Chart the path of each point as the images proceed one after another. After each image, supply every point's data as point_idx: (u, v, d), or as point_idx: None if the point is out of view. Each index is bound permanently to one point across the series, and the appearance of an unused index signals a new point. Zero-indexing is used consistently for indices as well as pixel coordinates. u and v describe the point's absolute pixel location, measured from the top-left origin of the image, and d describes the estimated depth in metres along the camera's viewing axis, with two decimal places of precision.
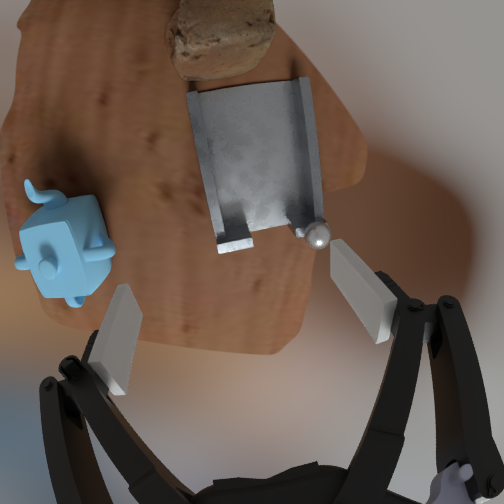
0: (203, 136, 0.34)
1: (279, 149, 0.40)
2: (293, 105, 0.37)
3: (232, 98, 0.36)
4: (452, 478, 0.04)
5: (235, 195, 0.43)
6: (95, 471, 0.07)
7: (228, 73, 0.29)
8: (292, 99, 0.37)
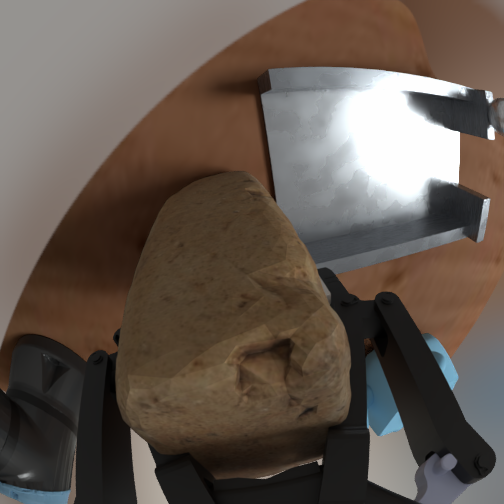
0: (364, 255, 0.23)
1: (378, 125, 0.22)
2: (309, 93, 0.20)
3: (295, 196, 0.24)
4: (435, 470, 0.05)
5: (422, 196, 0.26)
6: (127, 454, 0.08)
7: None
8: (297, 93, 0.20)
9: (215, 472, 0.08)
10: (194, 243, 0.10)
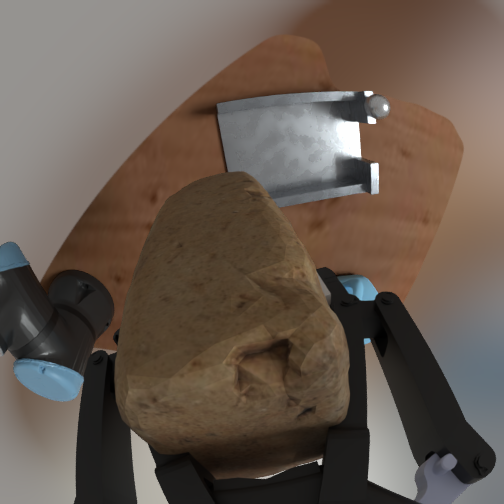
0: (279, 199, 0.41)
1: (288, 124, 0.40)
2: (244, 111, 0.38)
3: (238, 168, 0.42)
4: (436, 470, 0.05)
5: (328, 166, 0.44)
6: (126, 454, 0.08)
7: None
8: (237, 112, 0.38)
9: (214, 472, 0.08)
10: (193, 244, 0.10)
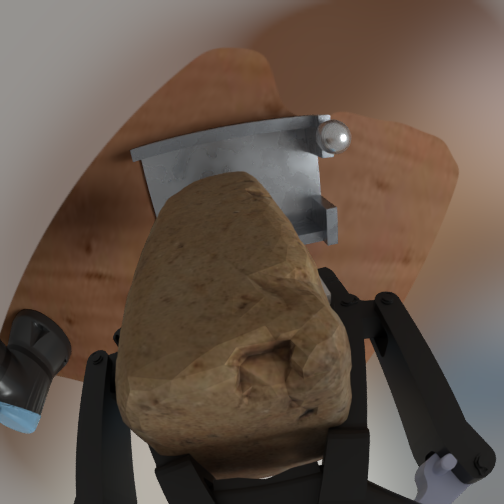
0: None
1: (225, 162, 0.35)
2: (170, 151, 0.33)
3: None
4: (435, 470, 0.05)
5: None
6: (126, 454, 0.08)
7: None
8: (163, 152, 0.33)
9: (215, 473, 0.08)
10: (194, 244, 0.10)
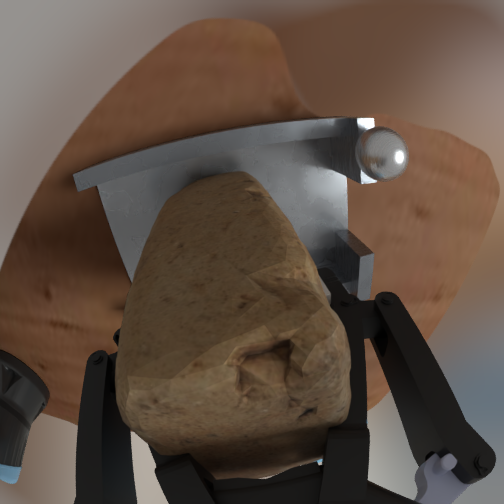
0: None
1: None
2: None
3: None
4: (435, 470, 0.05)
5: None
6: (127, 454, 0.08)
7: None
8: None
9: (215, 473, 0.08)
10: (193, 244, 0.10)
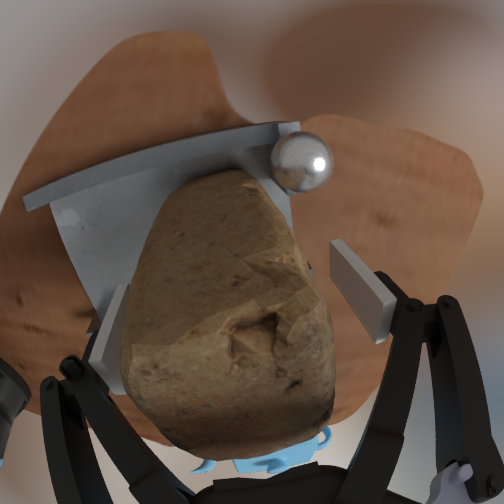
0: None
1: (148, 201, 0.23)
2: None
3: (90, 273, 0.26)
4: (451, 478, 0.04)
5: None
6: (96, 471, 0.07)
7: None
8: None
9: (209, 450, 0.09)
10: (193, 233, 0.11)
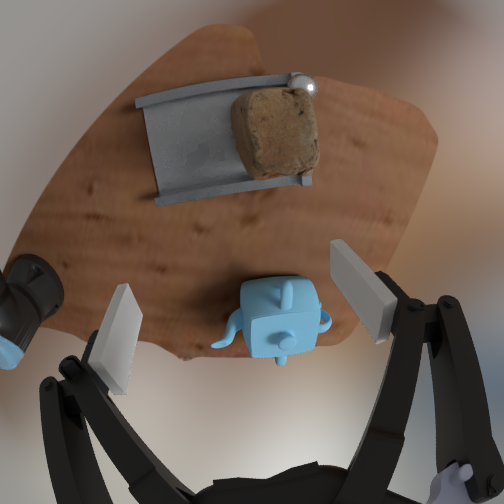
0: (196, 191, 0.39)
1: (213, 114, 0.38)
2: (168, 104, 0.36)
3: (163, 161, 0.40)
4: (451, 478, 0.04)
5: None
6: (96, 471, 0.07)
7: None
8: (162, 105, 0.36)
9: (267, 155, 0.23)
10: None
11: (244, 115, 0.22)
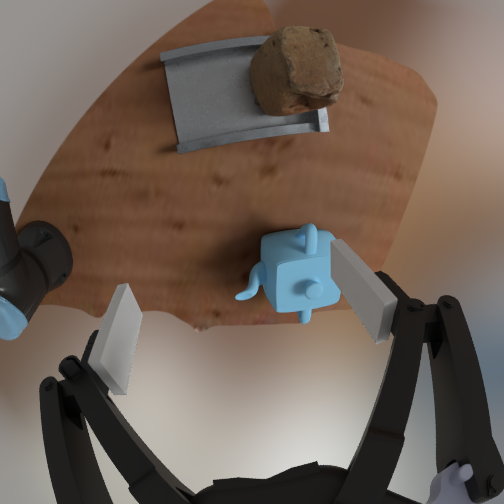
0: (219, 137, 0.39)
1: (233, 71, 0.37)
2: (189, 61, 0.35)
3: (184, 113, 0.40)
4: (451, 478, 0.04)
5: None
6: (95, 472, 0.07)
7: None
8: (183, 62, 0.35)
9: (300, 76, 0.22)
10: None
11: (278, 44, 0.21)
